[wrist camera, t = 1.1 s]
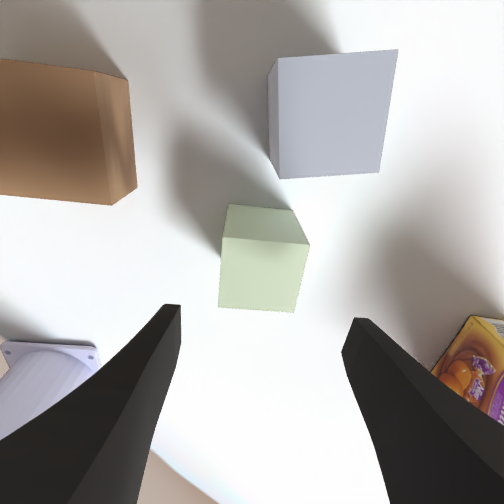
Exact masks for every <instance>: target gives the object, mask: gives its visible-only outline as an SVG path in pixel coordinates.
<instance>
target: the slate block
mask: <svg viewBox="0 0 504 504" xmlns="http://www.w3.org/2000/svg"><path fill="white" fill-rule="evenodd" d="M397 55H398V49H395V50H382V51H368V52H354V53H340V54H326V55H312V56H299V57H285V58H278V59H277V60H276V62H275V64H274V65H273V67H272V69H271V70H270V72H269V74H268V75H267V81H268V115H269V149H270V161H271V163H272V165H273V167H274V169H275V171H276V173H277V175H278V177H279V179H290V178H305V177H320V176H334V175H349V174H364V173H379V169H380V162H381V156H382V150H383V143H384V137H385V131H386V125H387V118H388V112H389V106H390V99H391V93H392V87H393V80H394V74H395V68H396V61H397Z"/></svg>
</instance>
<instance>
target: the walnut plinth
mask: <svg viewBox="0 0 504 504" xmlns="http://www.w3.org/2000/svg"><path fill="white" fill-rule="evenodd" d="M136 188H137V177H136V165H135V154H134V143H133V131H132V120H131V109H130V97H129V86H128V80H125V79H121V78H118V77H114V76H110V75H106V74H103V73H99V72H95V71H90V70H82V69H75V68H67V67H60V66H52V65H45V64H37V63H29V62H22V61H14V60H7V59H0V195H9V196H19V197H29V198H40V199H50V200H60V201H70V202H81V203H91V204H101V205H111V206H112V205H113V204H115V203H116V202H118V201H119V200H121V199H122V198H123V197H125V196H126V195H128V194H129V193H130V192H132V191H133V190H135V189H136Z"/></svg>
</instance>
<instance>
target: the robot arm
mask: <svg viewBox="0 0 504 504" xmlns="http://www.w3.org/2000/svg"><path fill="white" fill-rule="evenodd" d="M180 345H181V305H175V304H164V305H163V306H162V307H161V308H160V309H159V310H158V312H157V313H156V314H155V315H154V316H153V317H152V318H151V320H150V321H149V322H148V323H147V324H146V325H145V326H144V327H143V328H142V329H141V330H140V331H139V332H138V333H137V334H136V335H135V337H134V338H133V339H132V340H131V341H130V342H129V343H128V344H127V345H126V346H124V347H123V348H122V349H121V350H120V351H119V352H118V353H117V354H116V355H115V356H114V357H113V358H112V359H111V360H109V361H108V362H107V363H106V364H105V365H104V366H103V367H102V368H101V365H100V361H99V356H98V352H97V349H96V348H95V347H92V346H77V345H61V344H44V343H27V342H10V341H6V342H3V343H2V344H1V345H0V349H1V351H2V353H3V355H4V357H5V360H6V362H7V364H8V366H9V368H10V369H9V370H8V372H6V374H5V375H4V376H3V377H2V378H1V379H0V504H137V500H138V495H139V491H140V487H141V483H142V478H143V474H144V470H145V466H146V462H147V458H148V454H149V450H150V445H151V441H152V438H153V434H154V431H155V427H156V424H157V421H158V418H159V415H160V412H161V409H162V406H163V403H164V400H165V397H166V395H167V392H168V389H169V386H170V383H171V380H172V377H173V374H174V371H175V368H176V364H177V359H178V355H179V350H180ZM341 353H342V358H343V362H344V366H345V370H346V373H347V377H348V379H349V382H350V385H351V387H352V390H353V393H354V395H355V398H356V400H357V403H358V405H359V408H360V410H361V413H362V415H363V418H364V421H365V423H366V426H367V428H368V431H369V433H370V436H371V439H372V442H373V445H374V448H375V451H376V454H377V458H378V461H379V465H380V468H381V471H382V475H383V478H384V482H385V486H386V490H387V493H388V497H389V501H390V504H504V425H502V424H501V423H499V422H498V421H496V420H495V419H493V418H492V417H490V416H489V415H487V414H486V413H484V412H483V411H481V410H480V409H478V408H477V407H475V406H474V405H473V404H471V403H470V402H468V401H467V400H466V399H464V398H463V397H462V396H460V395H459V394H457V393H456V392H455V391H453V390H452V389H451V388H449V387H448V386H447V385H445V384H444V383H443V382H442V381H440V380H439V379H438V378H437V377H435V376H434V375H433V374H432V373H431V372H429V371H428V370H427V369H426V368H424V367H423V366H422V365H421V364H420V363H418V362H417V361H416V360H415V359H414V358H413V357H412V356H410V355H409V354H408V353H407V352H406V351H405V350H404V349H402V348H401V347H400V346H399V345H398V344H397V343H396V342H395V341H393V340H392V339H391V338H390V337H389V336H388V335H387V334H386V333H385V332H383V331H382V330H381V329H380V328H379V327H378V326H377V325H376V324H374V323H373V322H372V321H371V320H370V319H368V318H355V317H354V319H353V322H352V325H351V327H350V330H349V333H348V335H347V338H346V341H345V343H344V346H343V349H342V351H341Z"/></svg>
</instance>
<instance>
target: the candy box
mask: <svg viewBox="0 0 504 504" xmlns="http://www.w3.org/2000/svg"><path fill="white" fill-rule="evenodd" d="M431 373H432V374H433V375H434V376H435V377H437V378H438V379H439V380H440V381H442V382H443V383H444V384H445V385H447V386H448V387H449V388H451V389H452V390H453V391H455V392H456V393H457V394H459V395H460V396H462V397H463V398H464V399H466V400H467V401H468V402H470V403H471V404H473V405H474V406H475V407H477V408H478V409H480V410H481V411H483V412H484V413H486V414H487V415H489V416H490V417H492V418H493V419H495V420H496V421H498V422H499V423H501V424H502V425H504V320H498V319H492V318H484V317H478V316H470V317H469V319H468V320H467V322H466V323H465V325H464V327H463V328H462V330H461V331H460V333H459V334H458V335H457V337H456V338H455V340H454V341H453V342H452V344H451V345H450V347H449V348H448V349H447V351H446V352H445V354H444V355H443V356H442V358H441V359H440V360H439V362H438V363H437V364H436V366H435V367H434V369H433V370H432V371H431Z"/></svg>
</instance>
